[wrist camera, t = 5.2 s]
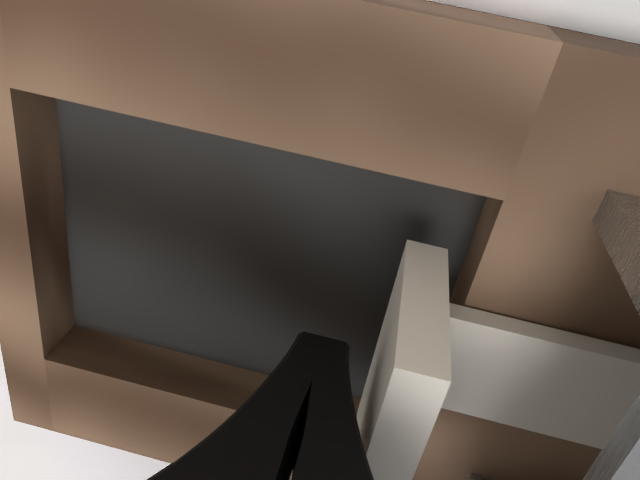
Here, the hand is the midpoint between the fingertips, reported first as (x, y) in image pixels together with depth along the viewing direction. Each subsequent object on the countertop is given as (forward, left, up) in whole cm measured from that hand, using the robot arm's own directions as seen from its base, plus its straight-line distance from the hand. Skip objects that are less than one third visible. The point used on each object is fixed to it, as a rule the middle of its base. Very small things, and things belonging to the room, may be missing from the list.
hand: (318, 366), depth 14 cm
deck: (0, -6, -4) cm, 7 cm away
